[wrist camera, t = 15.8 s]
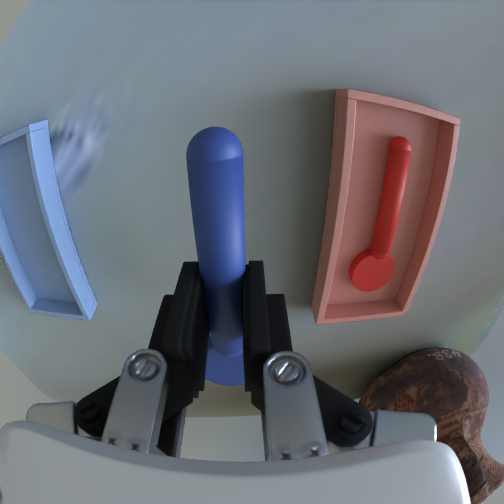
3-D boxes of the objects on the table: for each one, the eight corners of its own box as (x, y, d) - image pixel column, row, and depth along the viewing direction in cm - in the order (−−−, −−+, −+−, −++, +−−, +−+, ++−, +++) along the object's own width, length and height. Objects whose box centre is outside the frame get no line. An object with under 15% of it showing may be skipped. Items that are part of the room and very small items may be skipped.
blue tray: (-12, 145, 14) (-28, 153, 12) (47, 119, 14) (29, 124, 12) (38, 299, 24) (30, 312, 22) (98, 304, 24) (90, 320, 22)
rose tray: (335, 89, 14) (347, 88, 12) (442, 113, 15) (460, 118, 13) (310, 306, 24) (315, 324, 22) (396, 299, 24) (405, 315, 22)
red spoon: (371, 130, 15) (382, 133, 14) (417, 138, 15) (430, 143, 14) (344, 286, 22) (349, 299, 21) (383, 284, 22) (390, 295, 21)
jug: (474, 348, 33) (522, 458, 12) (388, 410, 42) (414, 515, 20) (433, 307, 25) (515, 493, 4) (313, 397, 34) (335, 552, 13)
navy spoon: (153, 129, 7) (135, 139, 6) (282, 123, 8) (291, 130, 6) (201, 372, 15) (198, 395, 13) (269, 372, 15) (270, 395, 13)
